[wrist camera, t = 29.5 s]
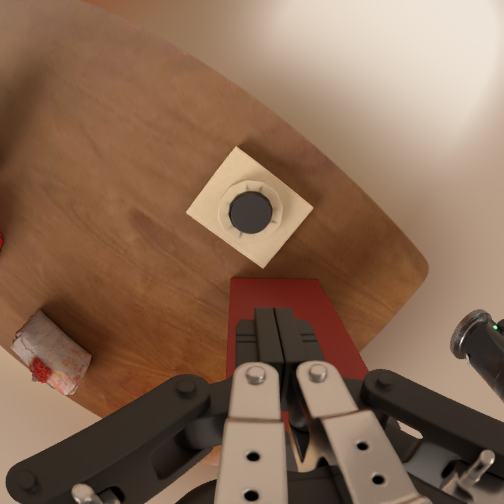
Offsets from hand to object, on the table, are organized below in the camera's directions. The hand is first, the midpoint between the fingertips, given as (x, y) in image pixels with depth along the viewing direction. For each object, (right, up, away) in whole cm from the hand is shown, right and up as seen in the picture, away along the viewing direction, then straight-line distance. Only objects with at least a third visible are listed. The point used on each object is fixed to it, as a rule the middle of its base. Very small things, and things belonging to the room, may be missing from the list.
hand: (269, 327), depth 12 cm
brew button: (-1, +8, +23) cm, 24 cm away
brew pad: (-1, +9, +27) cm, 28 cm away
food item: (-34, -13, +33) cm, 49 cm away
